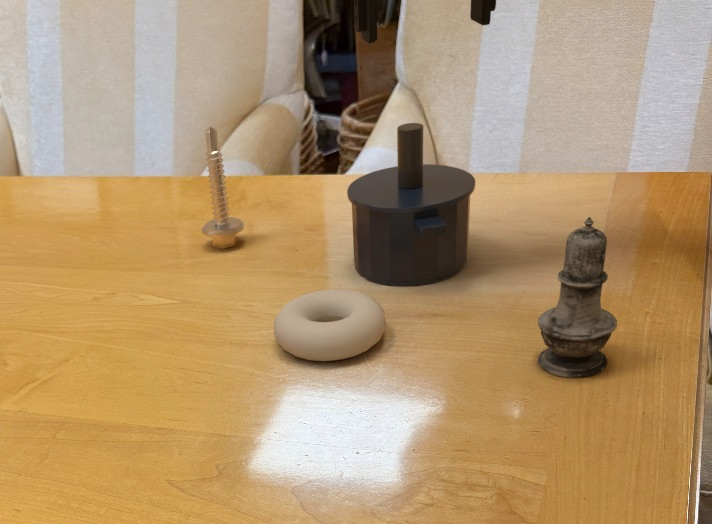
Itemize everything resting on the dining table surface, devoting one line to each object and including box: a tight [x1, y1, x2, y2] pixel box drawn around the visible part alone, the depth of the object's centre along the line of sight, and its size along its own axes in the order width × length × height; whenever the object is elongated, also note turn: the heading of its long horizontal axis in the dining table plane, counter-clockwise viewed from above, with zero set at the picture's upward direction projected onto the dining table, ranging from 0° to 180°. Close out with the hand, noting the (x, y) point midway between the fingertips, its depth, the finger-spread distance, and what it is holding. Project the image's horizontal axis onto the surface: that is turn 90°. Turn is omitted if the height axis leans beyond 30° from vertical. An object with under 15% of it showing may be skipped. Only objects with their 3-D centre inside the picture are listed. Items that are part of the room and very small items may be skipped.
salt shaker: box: [537, 216, 618, 379], centre depth 70 cm, size 6×6×12 cm
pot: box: [351, 195, 471, 287], centre depth 91 cm, size 11×17×8 cm
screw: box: [201, 126, 245, 250], centre depth 100 cm, size 13×5×5 cm
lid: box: [346, 122, 476, 213], centre depth 87 cm, size 12×12×7 cm
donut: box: [273, 288, 387, 362], centre depth 81 cm, size 10×4×10 cm
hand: (424, 31), depth 78 cm, fingers open, 9 cm apart
